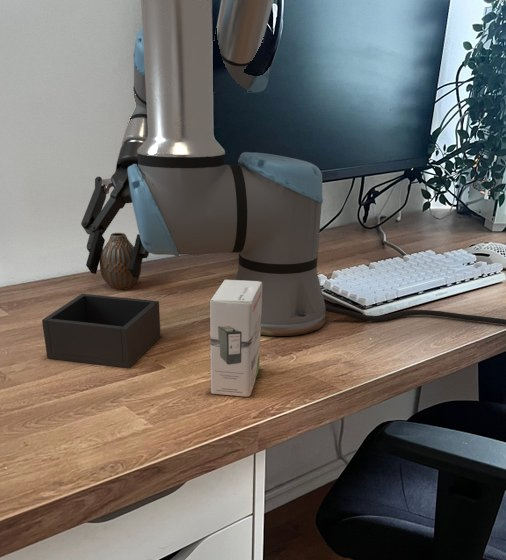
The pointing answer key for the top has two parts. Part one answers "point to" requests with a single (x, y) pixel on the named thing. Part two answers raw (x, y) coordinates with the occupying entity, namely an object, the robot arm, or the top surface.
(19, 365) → the top surface
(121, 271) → the vase
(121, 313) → the box
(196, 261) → the top surface
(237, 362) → the ink box
